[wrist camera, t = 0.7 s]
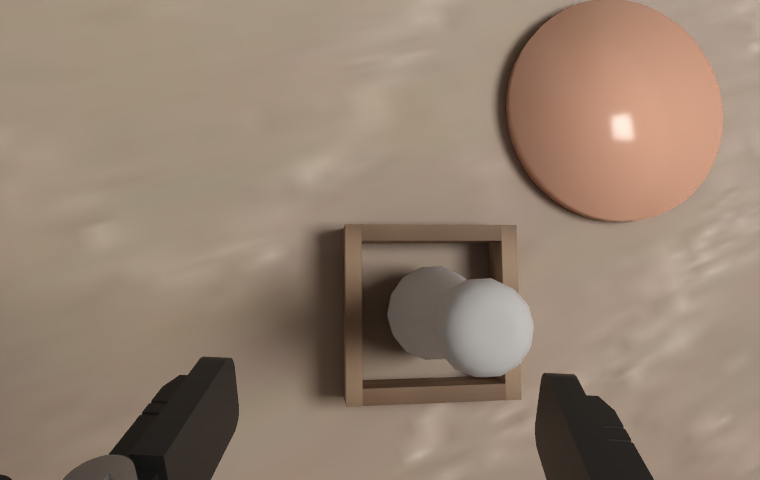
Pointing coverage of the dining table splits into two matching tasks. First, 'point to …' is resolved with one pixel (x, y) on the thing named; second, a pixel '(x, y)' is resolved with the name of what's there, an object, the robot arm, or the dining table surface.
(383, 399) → the brown wooden square frame
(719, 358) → the dining table surface
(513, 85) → the terracotta pad
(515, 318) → the salt shaker
